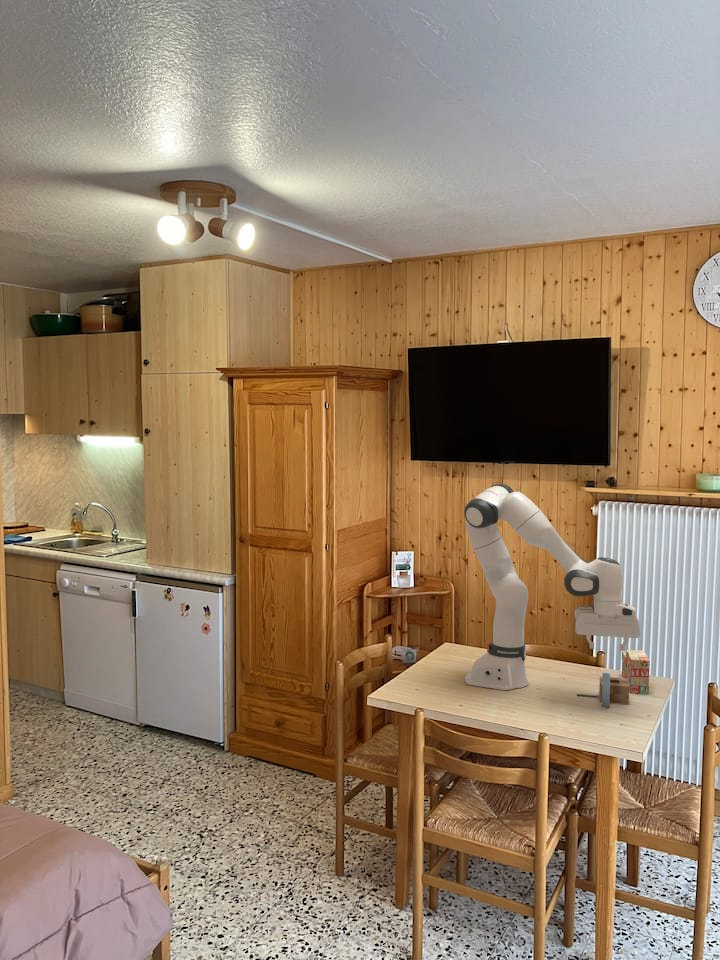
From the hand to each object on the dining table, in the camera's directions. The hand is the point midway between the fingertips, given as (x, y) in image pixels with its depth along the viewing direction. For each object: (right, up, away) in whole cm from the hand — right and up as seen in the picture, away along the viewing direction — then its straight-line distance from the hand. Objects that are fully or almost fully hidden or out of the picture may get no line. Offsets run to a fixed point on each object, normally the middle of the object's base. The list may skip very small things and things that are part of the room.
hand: (606, 649), depth 255 cm
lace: (-3, -19, +11) cm, 22 cm away
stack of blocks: (+18, -18, +25) cm, 36 cm away
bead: (+5, -19, +9) cm, 21 cm away
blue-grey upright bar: (0, -19, +1) cm, 19 cm away
